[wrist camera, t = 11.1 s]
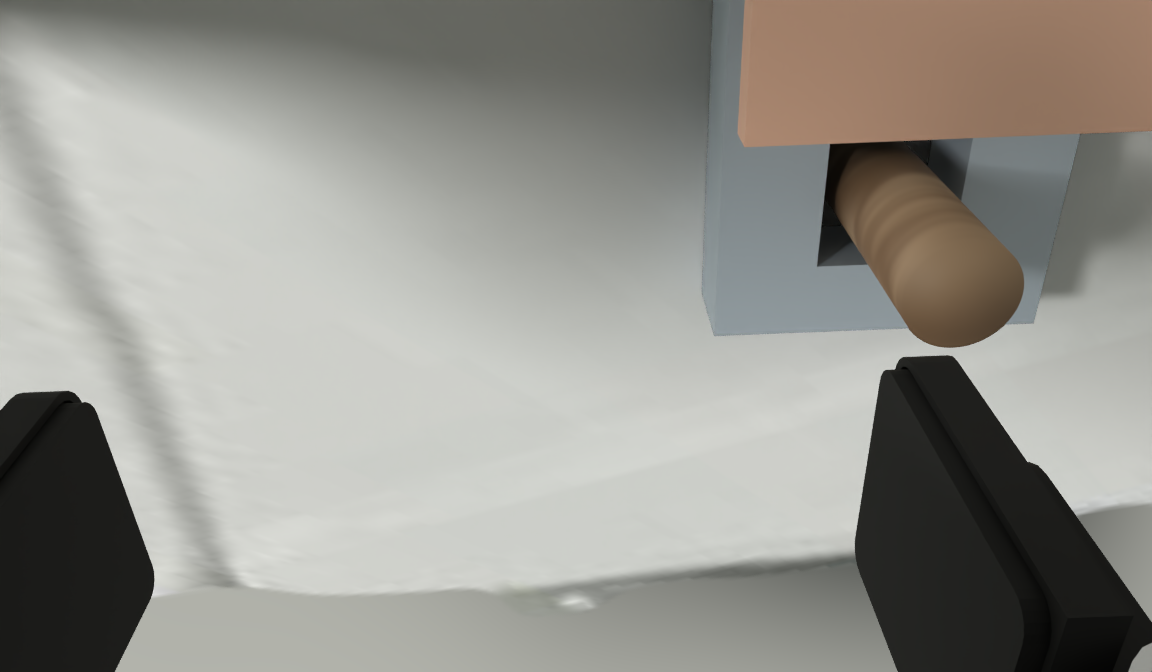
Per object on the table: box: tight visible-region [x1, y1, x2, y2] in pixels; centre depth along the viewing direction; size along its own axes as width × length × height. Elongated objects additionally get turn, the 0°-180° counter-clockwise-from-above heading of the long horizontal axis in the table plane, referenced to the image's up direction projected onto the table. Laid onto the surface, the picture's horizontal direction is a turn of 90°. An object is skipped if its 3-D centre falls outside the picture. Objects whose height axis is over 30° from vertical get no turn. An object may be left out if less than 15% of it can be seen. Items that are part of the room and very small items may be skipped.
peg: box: [824, 141, 1024, 348], centre depth 36 cm, size 4×4×12 cm
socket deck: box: [702, 0, 1152, 336], centre depth 33 cm, size 16×20×14 cm
